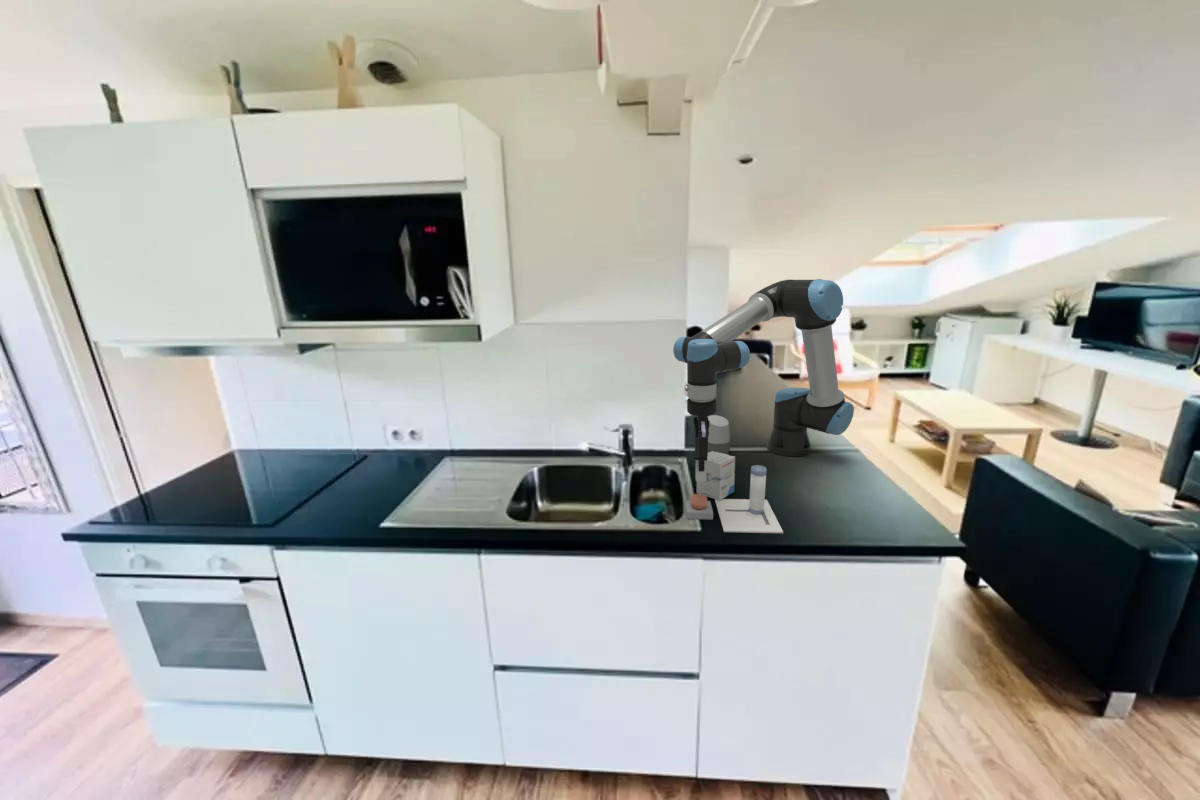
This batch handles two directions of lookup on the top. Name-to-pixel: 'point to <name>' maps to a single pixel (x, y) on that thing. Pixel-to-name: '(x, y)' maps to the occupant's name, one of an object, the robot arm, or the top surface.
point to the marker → (757, 489)
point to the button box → (698, 511)
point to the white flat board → (746, 517)
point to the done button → (699, 501)
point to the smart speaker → (718, 434)
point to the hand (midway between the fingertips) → (700, 480)
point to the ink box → (718, 476)
